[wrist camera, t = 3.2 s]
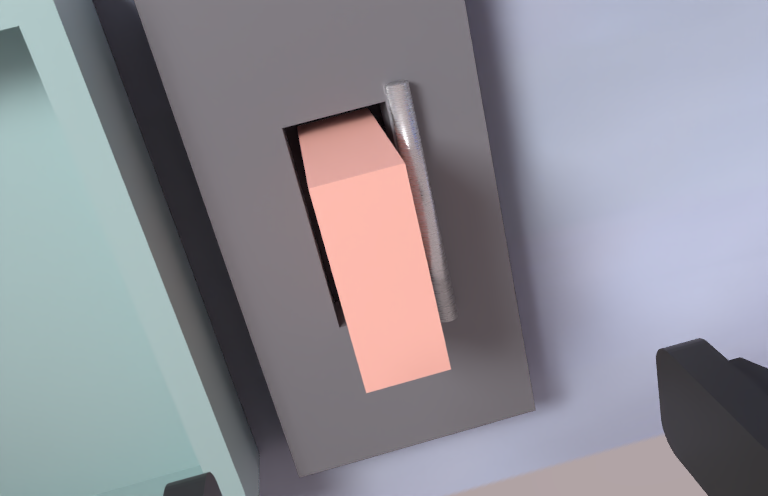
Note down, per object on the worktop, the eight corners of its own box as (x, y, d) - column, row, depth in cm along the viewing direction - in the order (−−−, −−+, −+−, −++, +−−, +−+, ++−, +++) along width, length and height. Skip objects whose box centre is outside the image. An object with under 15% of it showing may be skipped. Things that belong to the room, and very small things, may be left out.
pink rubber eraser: (296, 126, 24) (308, 189, 17) (367, 107, 24) (405, 163, 18) (341, 286, 26) (366, 393, 20) (405, 268, 26) (451, 369, 20)
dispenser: (131, -42, 21) (114, -42, 19) (428, -115, 22) (449, -124, 19) (297, 444, 28) (300, 490, 26) (518, 381, 29) (542, 421, 26)
